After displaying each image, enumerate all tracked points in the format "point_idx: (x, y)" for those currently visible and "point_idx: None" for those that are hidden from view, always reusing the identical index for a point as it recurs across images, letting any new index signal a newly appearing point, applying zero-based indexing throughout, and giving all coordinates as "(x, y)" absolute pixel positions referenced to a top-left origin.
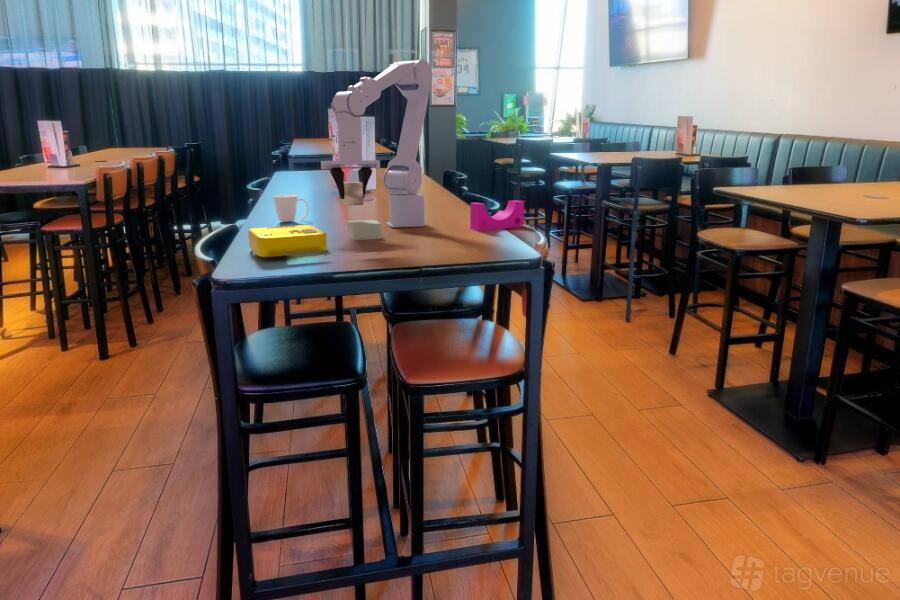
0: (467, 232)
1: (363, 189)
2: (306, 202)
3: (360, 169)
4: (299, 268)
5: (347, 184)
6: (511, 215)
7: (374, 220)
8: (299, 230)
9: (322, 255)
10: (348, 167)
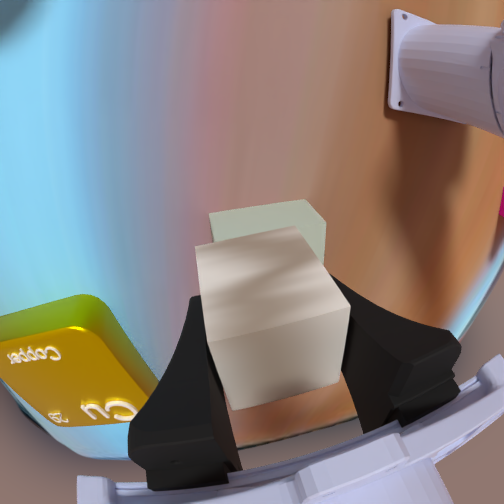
0: (485, 219)
1: None
2: None
3: (396, 406)
4: None
5: (247, 401)
6: None
7: (320, 239)
8: (94, 394)
9: None
10: (296, 471)
